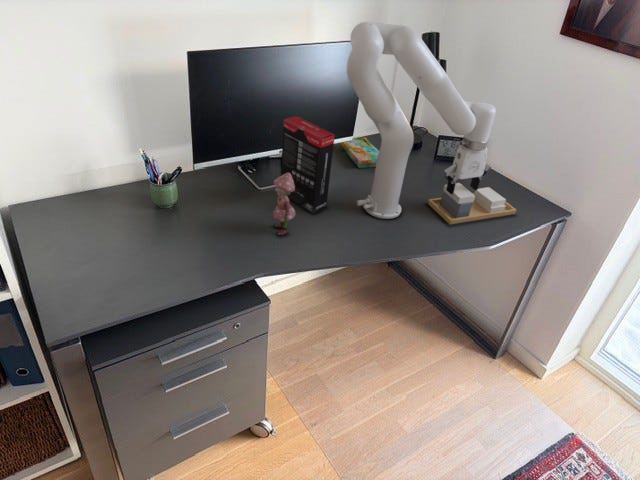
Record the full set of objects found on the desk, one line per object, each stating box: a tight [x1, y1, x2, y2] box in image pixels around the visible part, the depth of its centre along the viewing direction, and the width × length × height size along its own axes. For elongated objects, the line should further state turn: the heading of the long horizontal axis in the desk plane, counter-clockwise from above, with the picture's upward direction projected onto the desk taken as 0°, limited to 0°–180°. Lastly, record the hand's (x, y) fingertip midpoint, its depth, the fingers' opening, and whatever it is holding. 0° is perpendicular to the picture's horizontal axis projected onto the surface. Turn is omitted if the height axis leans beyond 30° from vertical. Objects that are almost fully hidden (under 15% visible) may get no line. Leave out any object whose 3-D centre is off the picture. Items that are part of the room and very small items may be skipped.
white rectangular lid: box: [443, 182, 475, 204], centre depth 166 cm, size 6×9×2 cm
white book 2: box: [473, 186, 507, 207], centre depth 174 cm, size 6×9×2 cm
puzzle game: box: [339, 137, 379, 169], centre depth 198 cm, size 12×5×20 cm
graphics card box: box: [280, 115, 336, 214], centre depth 160 cm, size 17×7×27 cm, turn 47°
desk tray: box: [427, 192, 517, 225], centre depth 173 cm, size 28×14×2 cm, turn 112°
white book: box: [474, 196, 506, 213], centre depth 175 cm, size 6×9×2 cm
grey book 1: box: [441, 191, 473, 212], centre depth 168 cm, size 5×10×3 cm, turn 22°
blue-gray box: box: [440, 197, 471, 218], centre depth 169 cm, size 5×10×3 cm, turn 22°
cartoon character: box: [272, 173, 296, 236], centre depth 147 cm, size 10×7×20 cm
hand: (461, 190), depth 166 cm, fingers open, 9 cm apart
